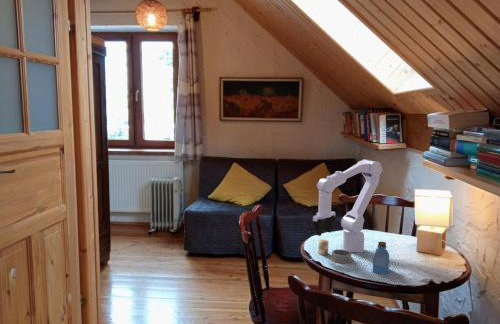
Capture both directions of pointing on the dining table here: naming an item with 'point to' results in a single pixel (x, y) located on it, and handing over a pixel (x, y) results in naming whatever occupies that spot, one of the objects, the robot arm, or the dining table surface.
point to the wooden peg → (323, 247)
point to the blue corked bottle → (381, 259)
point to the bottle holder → (341, 256)
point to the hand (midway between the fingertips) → (323, 233)
